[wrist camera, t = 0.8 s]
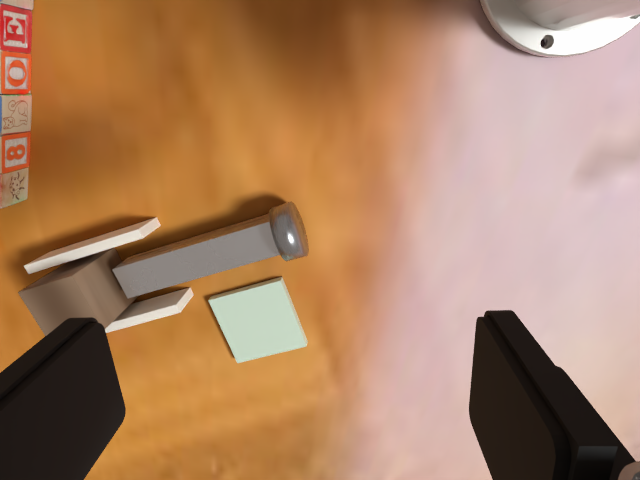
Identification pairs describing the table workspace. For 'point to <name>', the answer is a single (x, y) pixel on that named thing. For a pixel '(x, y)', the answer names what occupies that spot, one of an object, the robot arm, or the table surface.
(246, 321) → the pad
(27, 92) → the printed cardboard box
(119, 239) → the channel
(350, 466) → the table surface
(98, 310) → the block
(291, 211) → the rod
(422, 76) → the table surface
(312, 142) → the table surface
